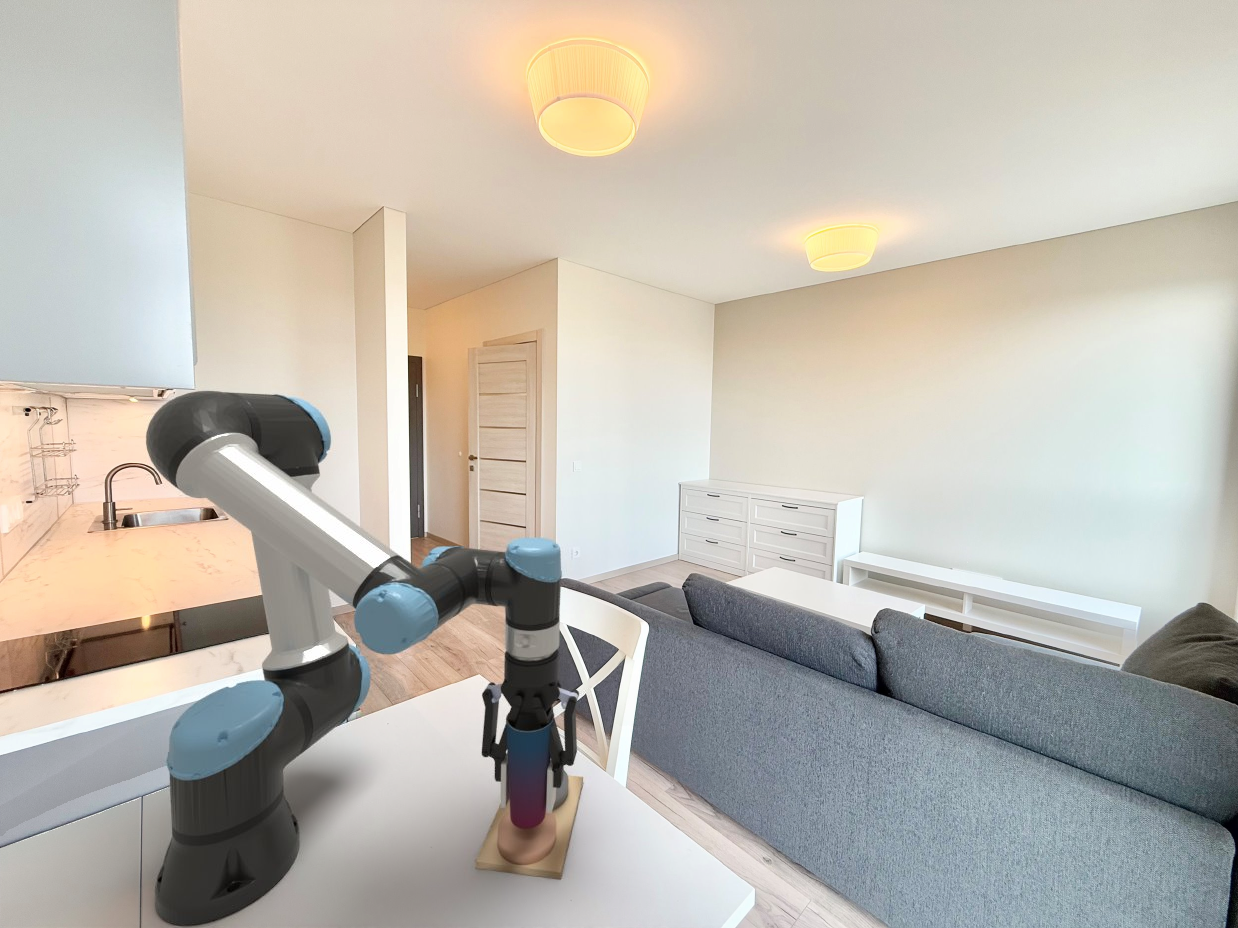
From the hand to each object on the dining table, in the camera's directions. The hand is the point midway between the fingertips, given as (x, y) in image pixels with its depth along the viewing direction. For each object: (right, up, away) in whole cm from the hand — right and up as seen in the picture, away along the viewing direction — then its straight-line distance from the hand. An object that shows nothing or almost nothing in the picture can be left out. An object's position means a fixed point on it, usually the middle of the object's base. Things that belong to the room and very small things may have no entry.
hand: (528, 802), depth 71 cm
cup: (0, -2, 0) cm, 2 cm away
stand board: (0, -6, +5) cm, 8 cm away
